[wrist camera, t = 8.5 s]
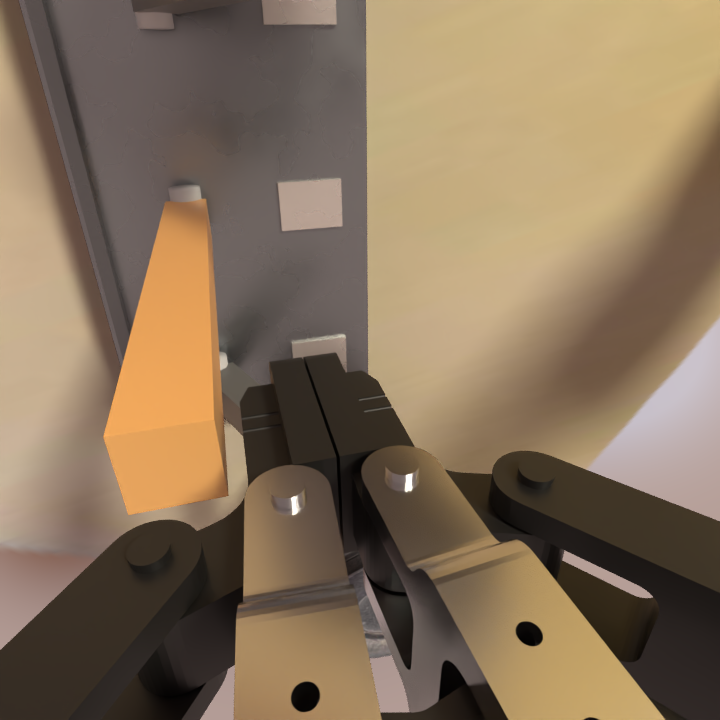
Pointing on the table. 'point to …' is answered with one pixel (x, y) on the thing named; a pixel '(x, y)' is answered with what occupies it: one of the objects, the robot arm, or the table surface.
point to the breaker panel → (222, 160)
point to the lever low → (170, 11)
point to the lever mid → (172, 372)
